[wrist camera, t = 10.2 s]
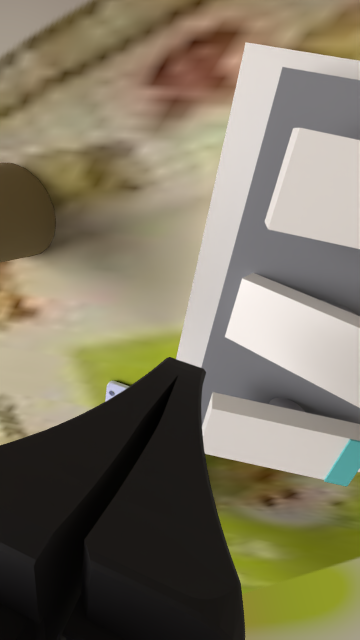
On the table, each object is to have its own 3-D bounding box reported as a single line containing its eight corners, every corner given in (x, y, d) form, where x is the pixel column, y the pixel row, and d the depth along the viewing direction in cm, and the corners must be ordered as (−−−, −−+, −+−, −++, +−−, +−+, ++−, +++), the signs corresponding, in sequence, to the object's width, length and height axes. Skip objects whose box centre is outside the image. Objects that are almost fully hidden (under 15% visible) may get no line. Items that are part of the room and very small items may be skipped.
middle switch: (402, 400, 15) (396, 429, 13) (244, 322, 19) (223, 337, 17) (443, 340, 13) (442, 364, 12) (261, 268, 17) (241, 278, 15)
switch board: (423, 484, 23) (442, 535, 20) (170, 393, 26) (154, 425, 23) (733, 128, 12) (874, 122, 9) (248, 48, 15) (237, 24, 12)
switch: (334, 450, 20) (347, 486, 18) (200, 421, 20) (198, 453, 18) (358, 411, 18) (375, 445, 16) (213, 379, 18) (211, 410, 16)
